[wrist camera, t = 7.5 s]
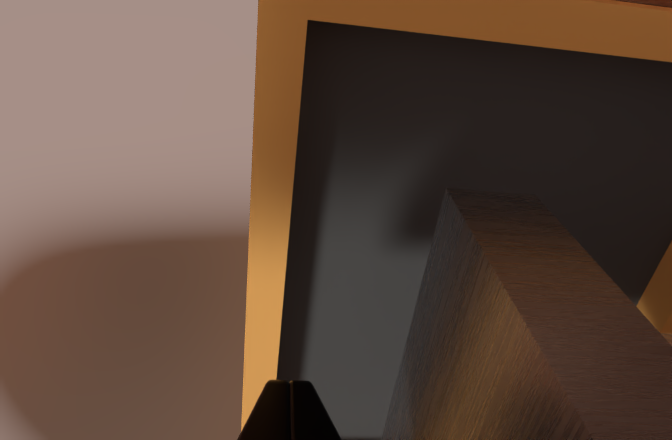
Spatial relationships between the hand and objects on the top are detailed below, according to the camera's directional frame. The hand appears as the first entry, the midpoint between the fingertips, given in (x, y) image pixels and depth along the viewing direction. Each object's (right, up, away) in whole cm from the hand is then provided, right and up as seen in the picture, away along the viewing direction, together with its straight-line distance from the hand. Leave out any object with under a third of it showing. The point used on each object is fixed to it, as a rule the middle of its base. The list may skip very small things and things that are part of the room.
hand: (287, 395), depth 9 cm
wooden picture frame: (+4, +1, +4) cm, 6 cm away
